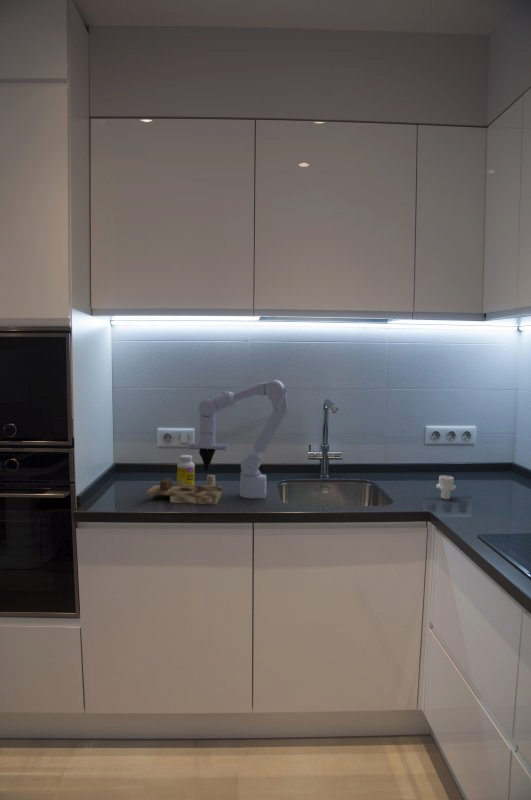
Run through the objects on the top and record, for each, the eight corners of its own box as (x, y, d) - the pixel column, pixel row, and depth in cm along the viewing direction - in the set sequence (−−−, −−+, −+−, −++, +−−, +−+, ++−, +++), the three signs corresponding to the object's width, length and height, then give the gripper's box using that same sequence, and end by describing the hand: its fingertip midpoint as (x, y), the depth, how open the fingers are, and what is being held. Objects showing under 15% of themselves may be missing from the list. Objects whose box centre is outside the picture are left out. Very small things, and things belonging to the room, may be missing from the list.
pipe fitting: (434, 495, 208) (435, 474, 208) (453, 496, 207) (454, 475, 207) (436, 499, 202) (437, 478, 202) (456, 500, 201) (458, 479, 200)
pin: (215, 493, 204) (215, 475, 204) (214, 495, 201) (214, 476, 201) (207, 493, 205) (208, 474, 204) (206, 495, 202) (206, 476, 201)
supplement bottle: (186, 492, 205) (187, 458, 204) (173, 489, 209) (173, 456, 208) (198, 488, 211) (198, 455, 210) (184, 486, 214) (185, 453, 213)
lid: (198, 489, 197) (198, 478, 196) (192, 496, 188) (192, 484, 187) (154, 487, 198) (154, 476, 198) (146, 493, 189) (146, 482, 189)
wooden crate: (221, 498, 197) (222, 486, 197) (216, 507, 186) (216, 494, 186) (178, 496, 198) (178, 484, 198) (170, 504, 188) (170, 492, 187)
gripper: (229, 431, 201) (228, 468, 202) (190, 430, 203) (190, 466, 204) (225, 434, 194) (225, 472, 195) (185, 432, 196) (185, 470, 197)
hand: (207, 469), depth 199 cm, fingers closed
